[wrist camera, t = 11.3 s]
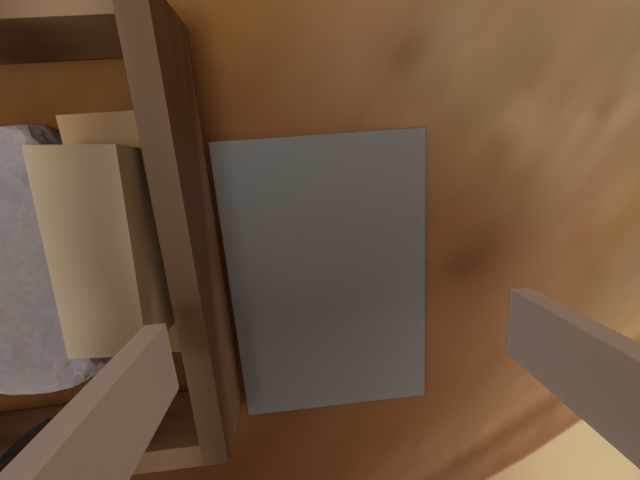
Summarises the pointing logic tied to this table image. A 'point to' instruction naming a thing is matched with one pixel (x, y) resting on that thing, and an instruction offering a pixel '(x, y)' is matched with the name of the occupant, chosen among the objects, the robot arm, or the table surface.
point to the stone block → (29, 282)
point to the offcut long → (107, 131)
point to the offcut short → (98, 243)
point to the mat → (326, 265)
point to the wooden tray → (167, 201)
